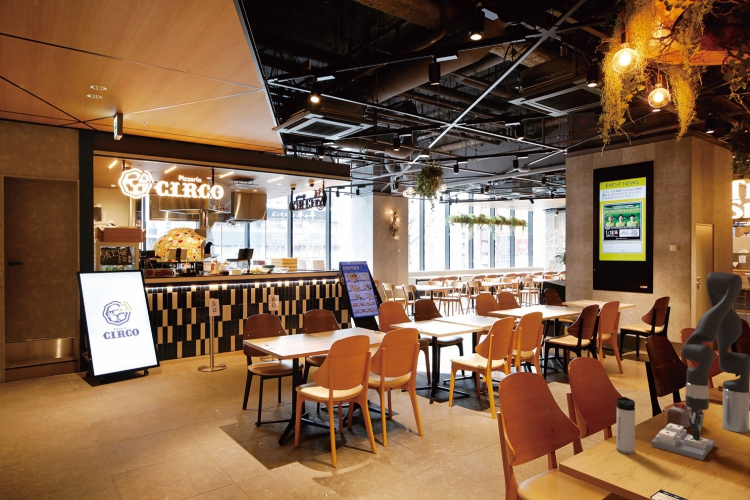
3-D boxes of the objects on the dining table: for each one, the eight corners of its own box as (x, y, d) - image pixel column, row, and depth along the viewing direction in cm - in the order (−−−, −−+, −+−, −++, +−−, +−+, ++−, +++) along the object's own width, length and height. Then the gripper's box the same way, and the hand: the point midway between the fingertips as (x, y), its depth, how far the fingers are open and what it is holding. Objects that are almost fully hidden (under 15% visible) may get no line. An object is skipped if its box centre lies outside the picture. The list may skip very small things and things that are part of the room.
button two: (669, 427, 196) (669, 422, 196) (683, 431, 192) (683, 426, 192) (666, 431, 193) (666, 425, 193) (680, 434, 189) (680, 429, 189)
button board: (665, 433, 199) (665, 423, 199) (713, 445, 187) (714, 435, 187) (651, 446, 186) (651, 436, 186) (702, 460, 174) (702, 449, 174)
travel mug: (632, 448, 183) (633, 397, 183) (636, 455, 177) (636, 402, 177) (614, 446, 185) (615, 395, 185) (617, 453, 179) (618, 401, 179)
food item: (676, 419, 215) (676, 398, 215) (696, 425, 209) (696, 403, 209) (664, 426, 207) (664, 404, 207) (684, 432, 201) (685, 409, 201)
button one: (662, 434, 189) (662, 428, 189) (676, 437, 186) (676, 432, 186) (658, 437, 186) (658, 432, 186) (673, 441, 182) (673, 436, 182)
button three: (690, 440, 187) (690, 435, 187) (705, 444, 183) (705, 439, 183) (686, 444, 183) (687, 438, 183) (702, 448, 179) (702, 442, 179)
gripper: (690, 389, 190) (689, 432, 190) (681, 396, 181) (680, 441, 181) (712, 393, 185) (711, 437, 185) (704, 400, 175) (703, 447, 175)
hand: (696, 439), depth 183 cm, fingers closed
